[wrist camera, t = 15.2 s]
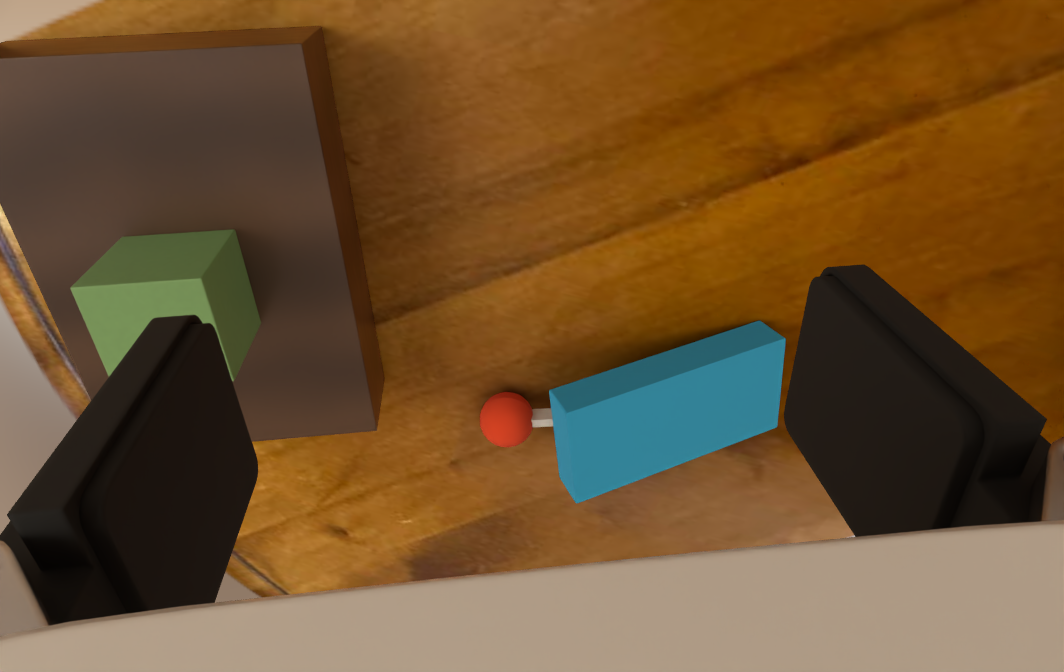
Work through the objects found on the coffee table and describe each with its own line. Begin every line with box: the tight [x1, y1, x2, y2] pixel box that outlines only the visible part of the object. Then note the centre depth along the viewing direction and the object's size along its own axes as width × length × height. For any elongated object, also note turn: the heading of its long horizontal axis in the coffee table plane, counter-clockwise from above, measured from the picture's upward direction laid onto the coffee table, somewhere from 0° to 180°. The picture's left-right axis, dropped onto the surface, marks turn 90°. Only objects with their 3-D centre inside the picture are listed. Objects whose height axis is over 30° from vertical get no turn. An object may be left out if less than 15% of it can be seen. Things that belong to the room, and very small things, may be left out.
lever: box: [480, 320, 786, 503], centre depth 43 cm, size 7×7×18 cm
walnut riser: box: [0, 26, 384, 441], centre depth 34 cm, size 20×14×5 cm
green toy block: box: [71, 229, 261, 381], centre depth 30 cm, size 5×5×5 cm
